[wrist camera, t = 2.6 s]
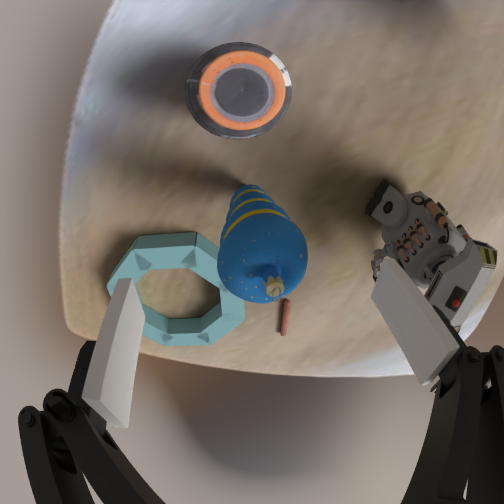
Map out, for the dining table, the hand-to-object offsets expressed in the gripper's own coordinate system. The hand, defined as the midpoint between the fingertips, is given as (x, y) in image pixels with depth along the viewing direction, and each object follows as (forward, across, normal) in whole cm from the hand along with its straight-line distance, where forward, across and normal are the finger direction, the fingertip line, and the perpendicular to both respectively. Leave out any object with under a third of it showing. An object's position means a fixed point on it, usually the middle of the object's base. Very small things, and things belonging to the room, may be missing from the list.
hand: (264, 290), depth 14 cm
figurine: (+14, +17, -4) cm, 23 cm away
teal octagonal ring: (+14, -8, -12) cm, 20 cm away
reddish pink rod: (+14, +5, -18) cm, 23 cm away
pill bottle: (+14, -1, +9) cm, 17 cm away
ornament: (+14, 0, 0) cm, 14 cm away
